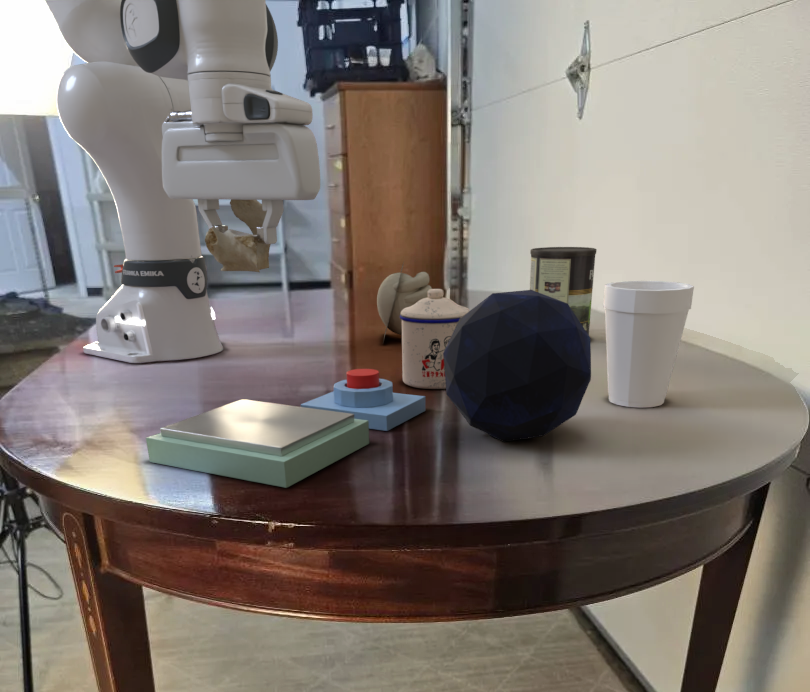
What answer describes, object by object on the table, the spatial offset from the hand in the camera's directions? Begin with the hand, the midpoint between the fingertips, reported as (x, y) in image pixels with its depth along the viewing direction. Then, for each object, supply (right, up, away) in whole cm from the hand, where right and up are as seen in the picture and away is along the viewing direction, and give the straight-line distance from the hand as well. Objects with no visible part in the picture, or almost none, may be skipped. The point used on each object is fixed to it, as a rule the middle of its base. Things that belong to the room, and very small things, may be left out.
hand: (243, 242), depth 90 cm
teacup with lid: (+24, -14, +12) cm, 30 cm away
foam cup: (+46, -18, +1) cm, 50 cm away
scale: (+5, -26, -15) cm, 31 cm away
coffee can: (+44, -2, +38) cm, 58 cm away
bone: (0, -3, +1) cm, 3 cm away
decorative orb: (+30, -24, -11) cm, 40 cm away
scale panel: (+14, -21, -3) cm, 25 cm away
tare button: (+14, -18, -4) cm, 23 cm away
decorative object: (+19, -1, +40) cm, 44 cm away
